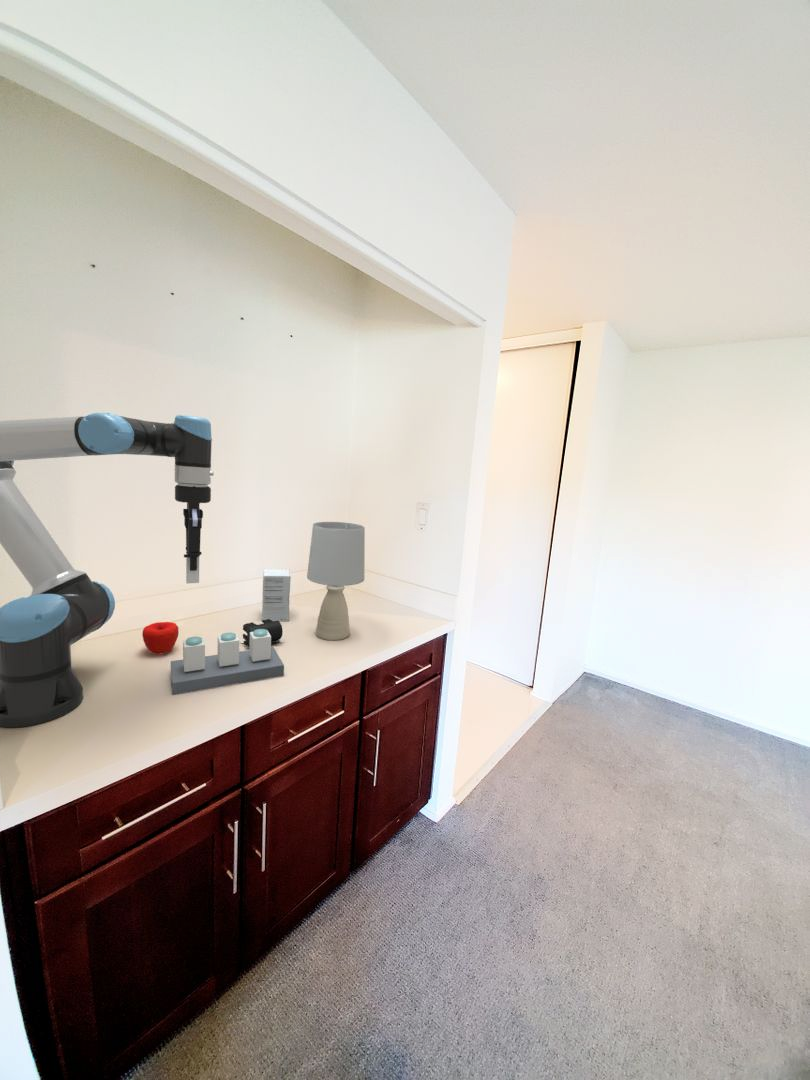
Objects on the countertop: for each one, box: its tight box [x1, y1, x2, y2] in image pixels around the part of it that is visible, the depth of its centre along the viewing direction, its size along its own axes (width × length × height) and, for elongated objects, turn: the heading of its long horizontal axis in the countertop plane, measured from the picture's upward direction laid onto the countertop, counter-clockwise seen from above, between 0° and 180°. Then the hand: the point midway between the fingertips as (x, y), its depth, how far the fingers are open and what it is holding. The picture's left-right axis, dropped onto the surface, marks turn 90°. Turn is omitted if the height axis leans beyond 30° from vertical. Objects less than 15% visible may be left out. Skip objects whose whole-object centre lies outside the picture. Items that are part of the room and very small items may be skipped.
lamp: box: [306, 521, 366, 641], centre depth 139 cm, size 19×19×37 cm
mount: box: [170, 646, 285, 696], centre depth 111 cm, size 26×12×8 cm, turn 120°
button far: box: [248, 629, 272, 662], centre depth 114 cm, size 5×5×7 cm
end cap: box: [242, 619, 284, 648], centre depth 130 cm, size 10×7×7 cm
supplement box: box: [261, 568, 291, 622], centre depth 152 cm, size 10×9×17 cm
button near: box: [182, 636, 206, 672], centre depth 106 cm, size 5×5×7 cm
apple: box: [141, 621, 179, 655], centre depth 120 cm, size 9×9×8 cm
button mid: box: [217, 632, 240, 667], centre depth 110 cm, size 5×5×7 cm
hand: (192, 582), depth 103 cm, fingers closed
